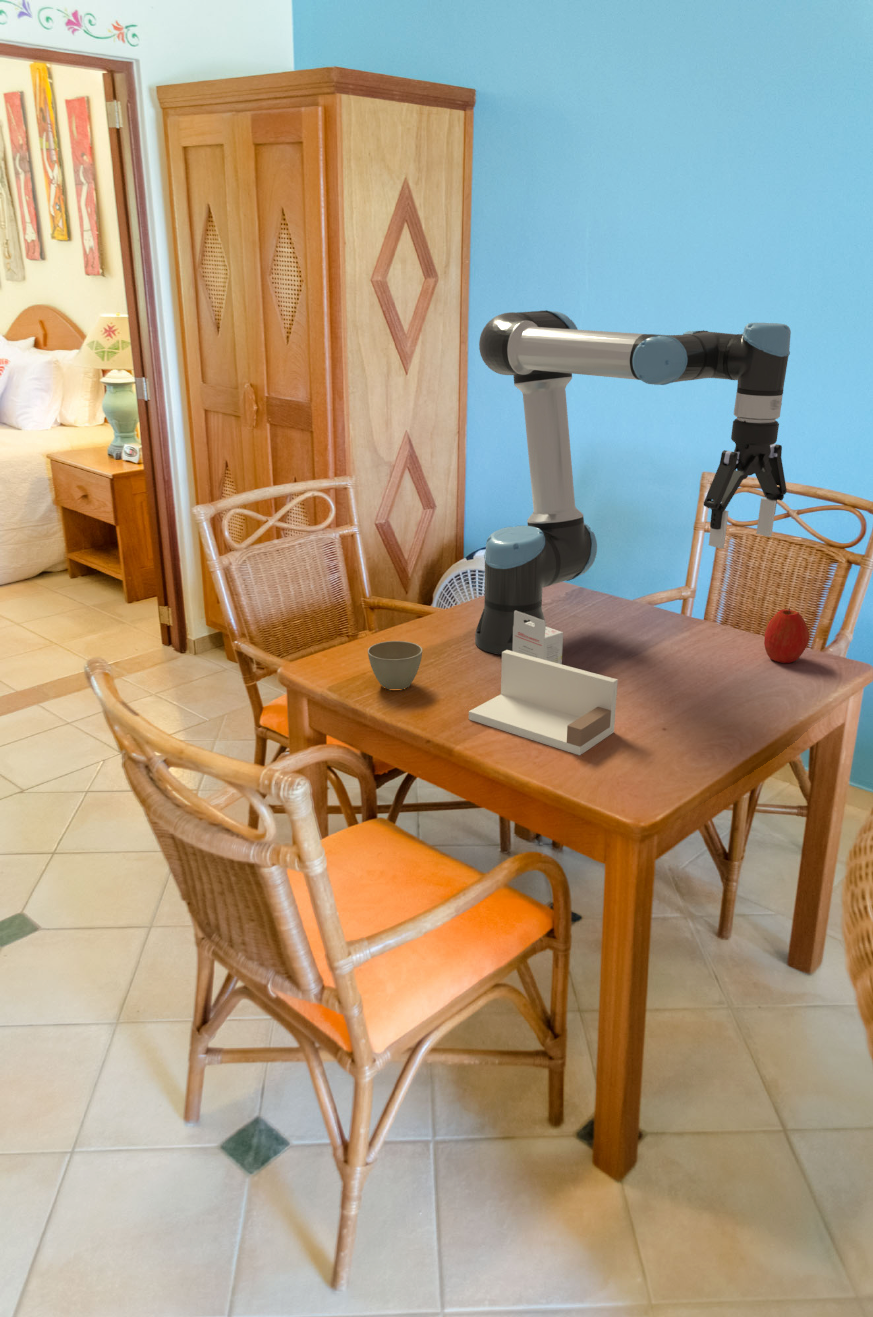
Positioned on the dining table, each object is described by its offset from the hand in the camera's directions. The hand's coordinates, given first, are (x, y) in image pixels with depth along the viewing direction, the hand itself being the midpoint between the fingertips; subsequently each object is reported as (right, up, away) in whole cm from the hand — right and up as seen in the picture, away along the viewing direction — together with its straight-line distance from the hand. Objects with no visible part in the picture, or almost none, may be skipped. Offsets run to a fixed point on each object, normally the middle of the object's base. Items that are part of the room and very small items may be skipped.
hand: (740, 541), depth 180 cm
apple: (+15, -21, +21) cm, 33 cm away
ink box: (-36, -27, +7) cm, 45 cm away
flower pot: (-61, -26, +8) cm, 67 cm away
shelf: (-36, -32, -8) cm, 49 cm away
